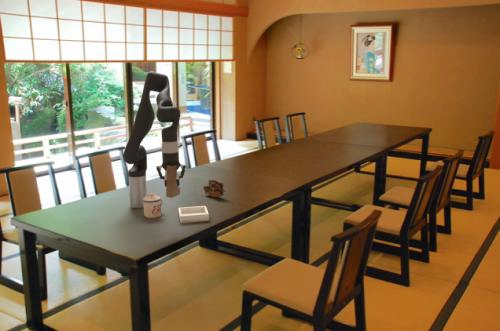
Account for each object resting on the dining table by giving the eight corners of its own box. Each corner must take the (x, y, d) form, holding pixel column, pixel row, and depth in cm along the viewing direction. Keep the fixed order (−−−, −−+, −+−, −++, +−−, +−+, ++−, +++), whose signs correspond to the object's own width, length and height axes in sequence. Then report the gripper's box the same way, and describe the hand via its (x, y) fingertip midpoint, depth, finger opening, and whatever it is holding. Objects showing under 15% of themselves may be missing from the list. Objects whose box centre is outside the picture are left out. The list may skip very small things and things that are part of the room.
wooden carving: (201, 195, 287) (200, 179, 285) (206, 193, 291) (206, 177, 288) (223, 200, 277) (222, 182, 275) (228, 198, 281) (227, 181, 279)
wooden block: (171, 198, 226) (172, 166, 222) (165, 196, 228) (166, 165, 224) (179, 194, 232) (181, 163, 228) (174, 193, 233) (175, 162, 229)
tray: (180, 223, 241) (179, 216, 240) (178, 214, 254) (178, 207, 253) (209, 220, 243) (208, 213, 242) (205, 212, 257) (205, 205, 256)
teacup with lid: (154, 219, 247) (152, 196, 245) (140, 216, 252) (138, 194, 249) (169, 212, 258) (167, 190, 255) (155, 210, 262) (153, 188, 259)
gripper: (185, 148, 230) (187, 184, 234) (154, 150, 227) (156, 186, 231) (186, 151, 223) (188, 188, 227) (154, 153, 220) (156, 190, 224)
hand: (172, 187), depth 229 cm, fingers closed on wooden block, 4 cm apart
